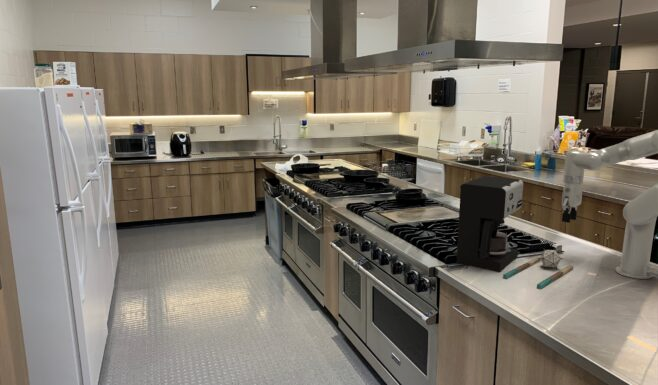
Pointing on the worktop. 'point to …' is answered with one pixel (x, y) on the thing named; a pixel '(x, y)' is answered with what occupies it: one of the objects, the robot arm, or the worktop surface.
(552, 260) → the game die
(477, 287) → the worktop surface
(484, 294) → the worktop surface
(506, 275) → the pair of wooden rods
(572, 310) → the worktop surface
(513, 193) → the coffee maker
